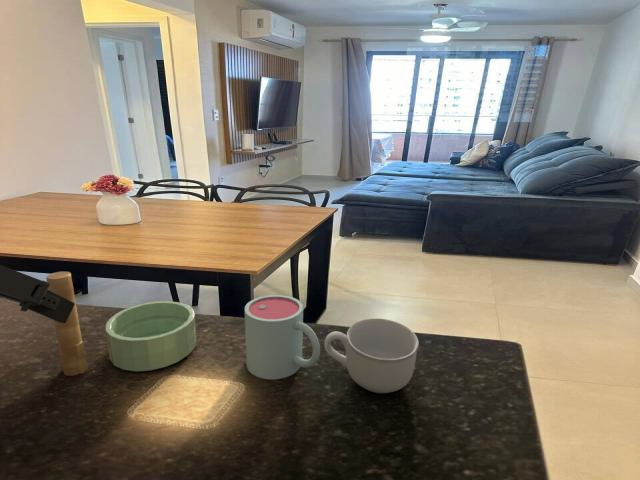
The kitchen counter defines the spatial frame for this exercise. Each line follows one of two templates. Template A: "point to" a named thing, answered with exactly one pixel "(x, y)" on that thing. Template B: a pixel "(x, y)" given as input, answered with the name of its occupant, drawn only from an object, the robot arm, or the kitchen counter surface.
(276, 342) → the mug
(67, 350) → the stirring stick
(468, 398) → the kitchen counter surface
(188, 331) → the bowl
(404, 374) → the teacup
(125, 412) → the kitchen counter surface
